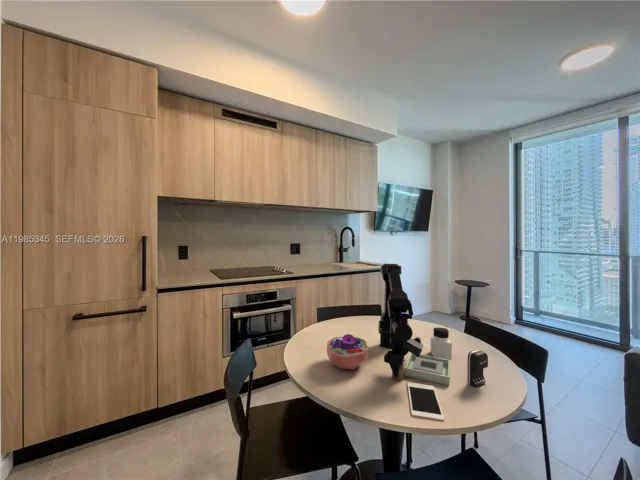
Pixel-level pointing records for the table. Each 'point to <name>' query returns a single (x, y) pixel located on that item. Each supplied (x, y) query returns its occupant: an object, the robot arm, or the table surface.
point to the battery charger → (476, 367)
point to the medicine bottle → (441, 343)
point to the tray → (427, 374)
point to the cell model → (347, 351)
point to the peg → (400, 375)
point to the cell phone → (424, 402)
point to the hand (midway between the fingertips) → (397, 373)
